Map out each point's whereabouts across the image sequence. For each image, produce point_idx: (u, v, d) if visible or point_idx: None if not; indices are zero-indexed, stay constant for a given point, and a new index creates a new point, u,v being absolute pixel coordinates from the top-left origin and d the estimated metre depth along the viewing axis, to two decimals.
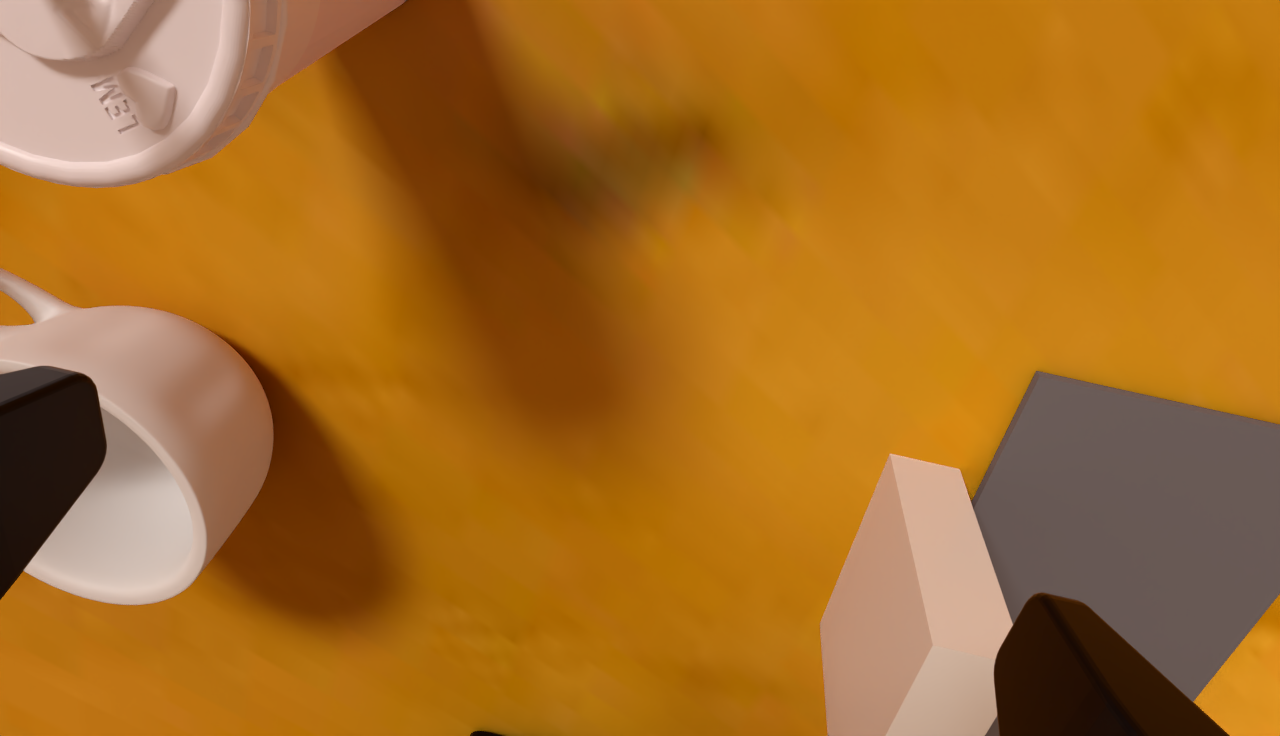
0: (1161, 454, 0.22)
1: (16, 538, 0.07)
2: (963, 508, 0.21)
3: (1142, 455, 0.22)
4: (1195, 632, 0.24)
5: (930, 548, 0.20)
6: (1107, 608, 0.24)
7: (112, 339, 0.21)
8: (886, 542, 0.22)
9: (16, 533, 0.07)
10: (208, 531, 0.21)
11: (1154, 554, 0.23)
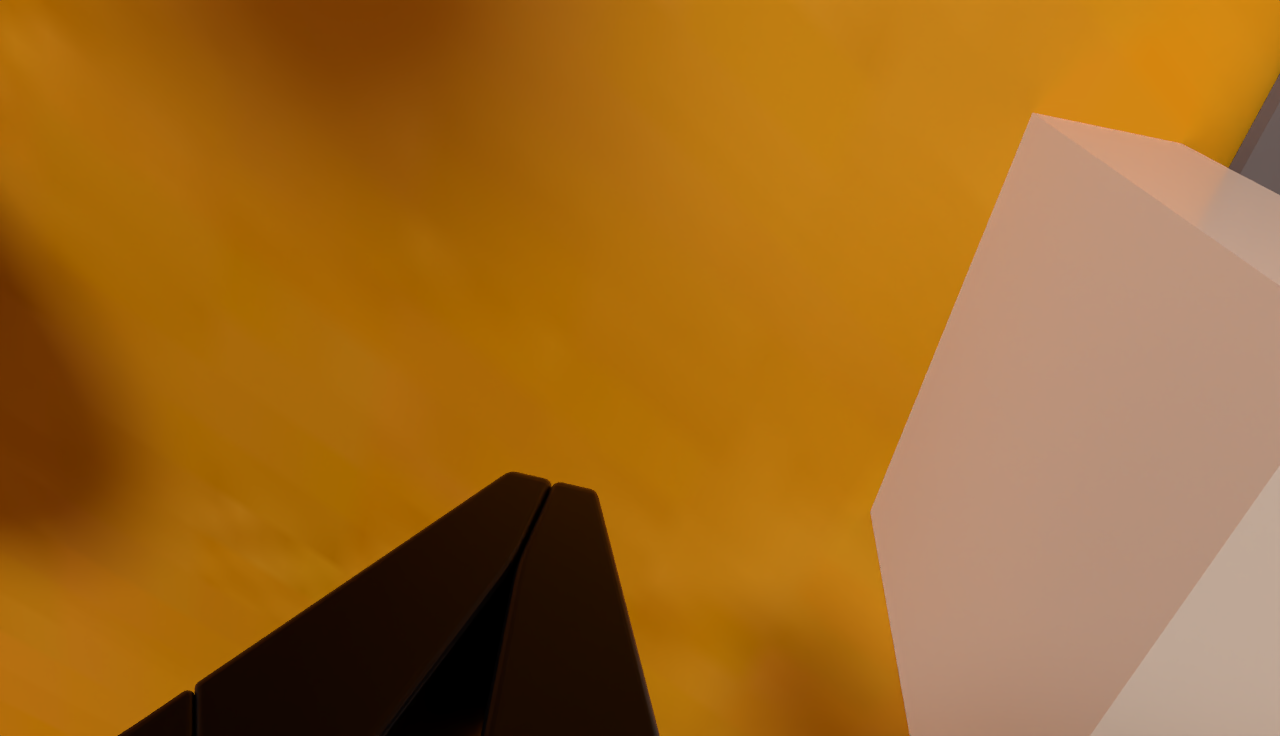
0: None
1: None
2: (1228, 175, 0.09)
3: None
4: None
5: (1201, 204, 0.08)
6: None
7: None
8: (1050, 259, 0.09)
9: None
10: None
11: None
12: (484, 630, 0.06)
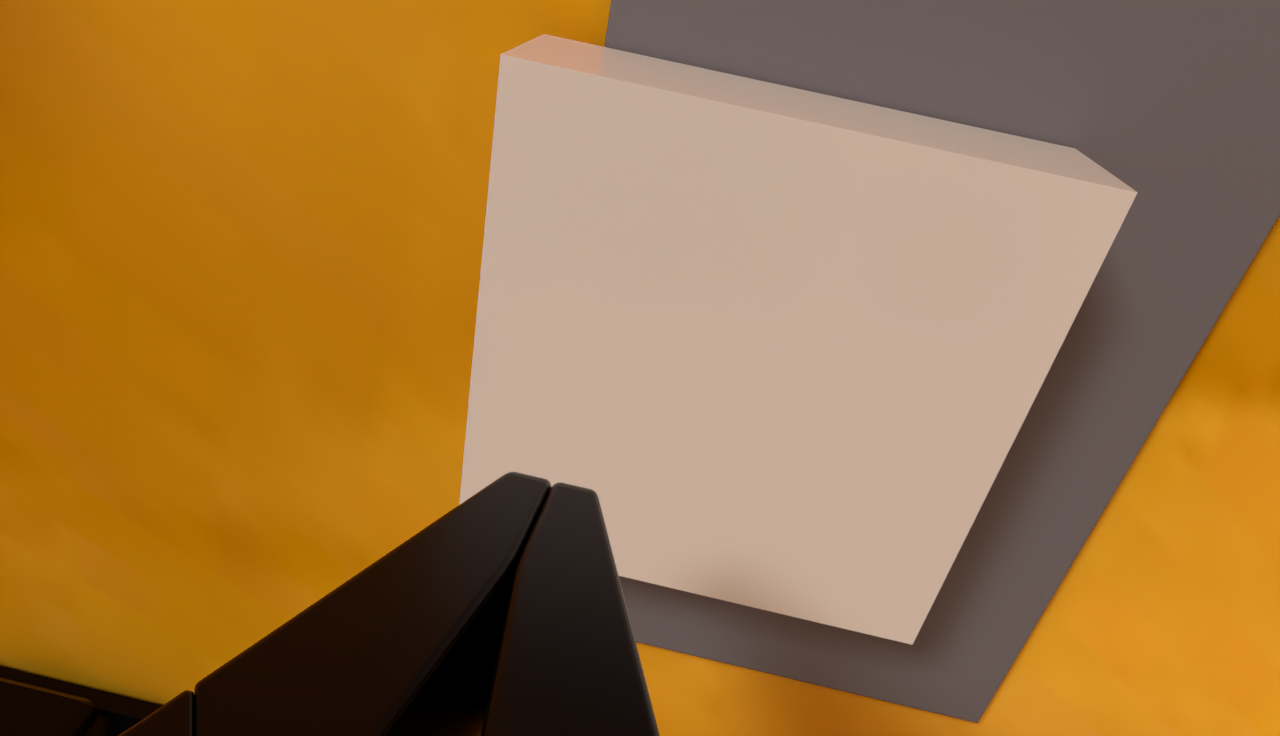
0: None
1: None
2: (682, 67, 0.10)
3: None
4: (1066, 402, 0.12)
5: (839, 118, 0.09)
6: None
7: None
8: (699, 207, 0.09)
9: None
10: None
11: None
12: (484, 630, 0.06)
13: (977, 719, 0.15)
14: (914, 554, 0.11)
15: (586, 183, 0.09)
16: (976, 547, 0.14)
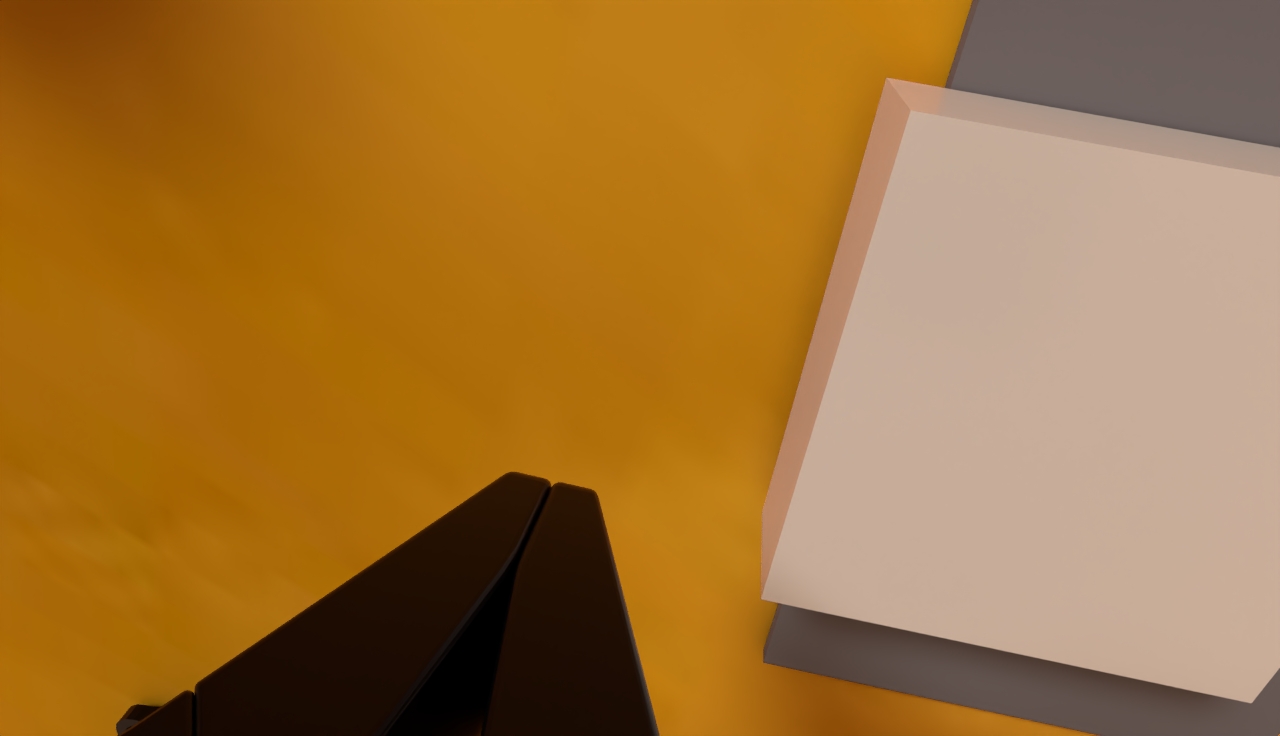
0: None
1: None
2: (1044, 109, 0.10)
3: None
4: None
5: (1262, 165, 0.09)
6: None
7: None
8: (1105, 263, 0.09)
9: None
10: None
11: None
12: (484, 630, 0.06)
13: None
14: (1274, 612, 0.11)
15: (981, 241, 0.09)
16: None
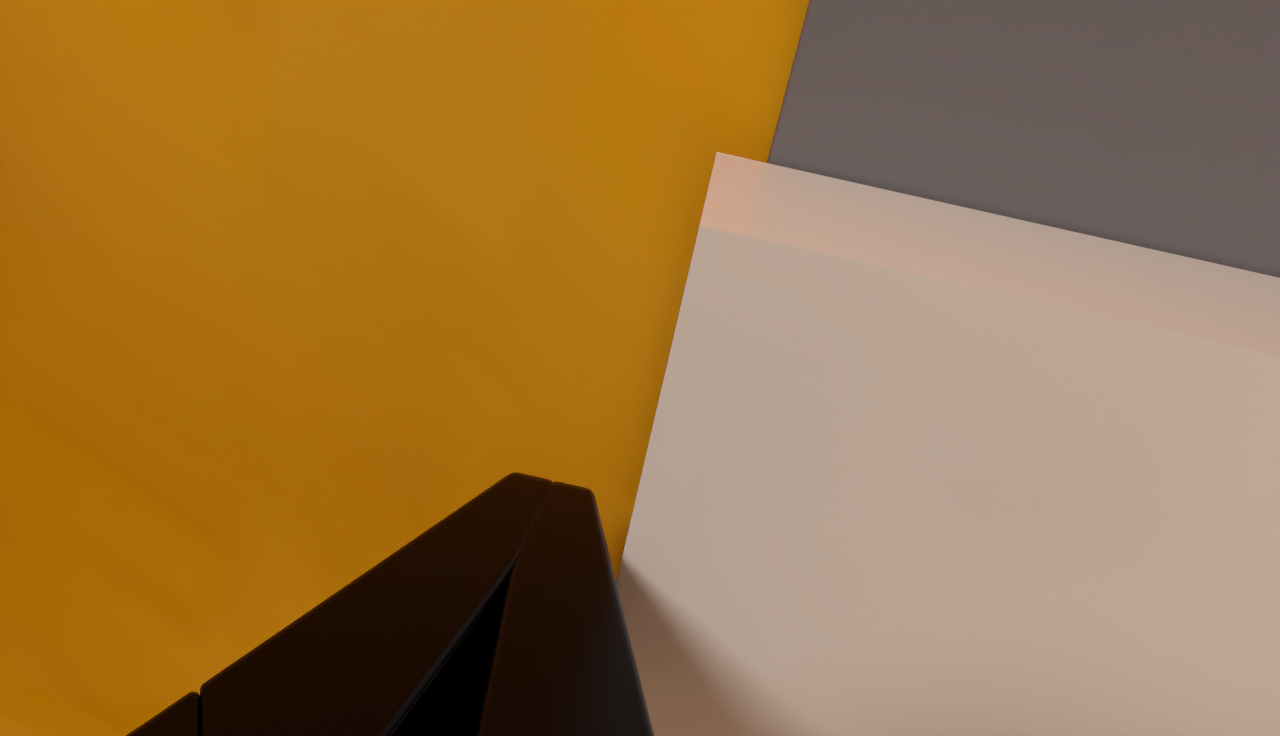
0: None
1: None
2: (937, 209, 0.07)
3: None
4: None
5: (1247, 325, 0.06)
6: None
7: None
8: (1004, 461, 0.06)
9: None
10: None
11: None
12: (488, 631, 0.06)
13: None
14: None
15: (819, 420, 0.06)
16: None
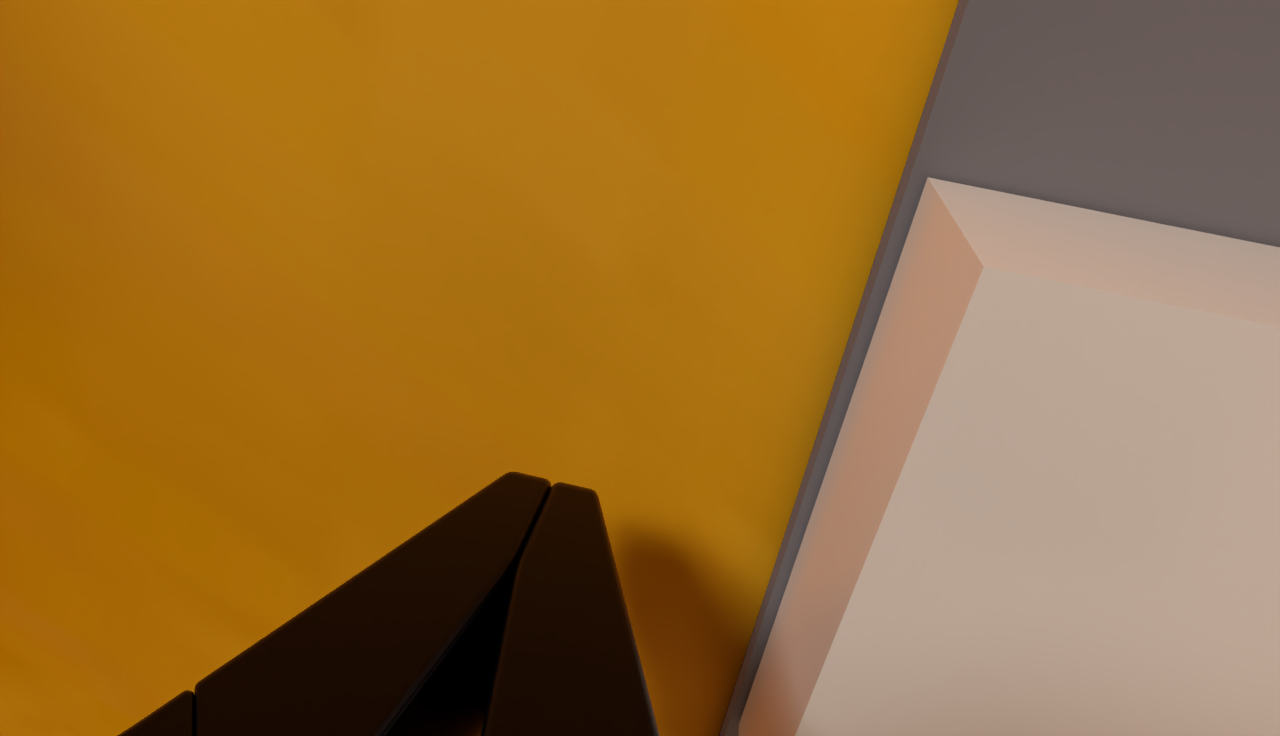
0: None
1: None
2: (1172, 234, 0.06)
3: None
4: None
5: None
6: None
7: None
8: None
9: None
10: None
11: None
12: (484, 630, 0.06)
13: None
14: None
15: (1087, 466, 0.05)
16: None
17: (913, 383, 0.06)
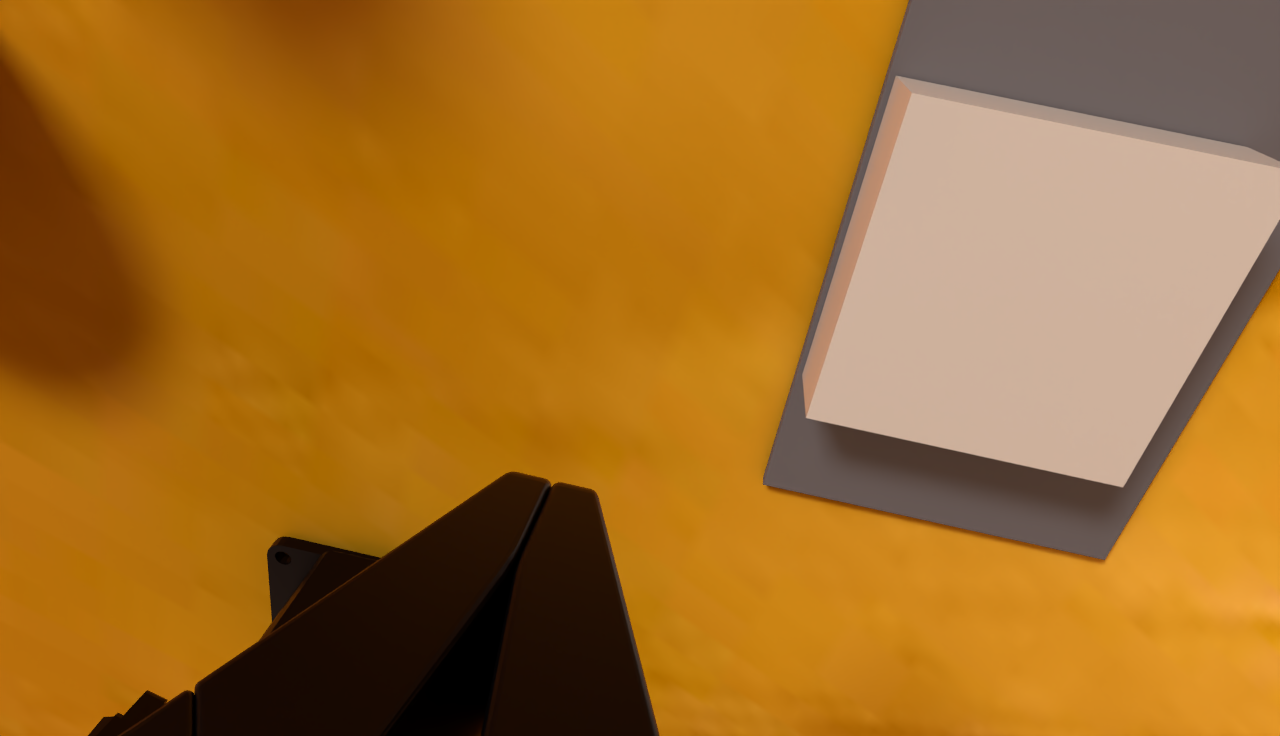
0: None
1: None
2: (992, 96, 0.16)
3: (1104, 2, 0.15)
4: None
5: (1114, 130, 0.15)
6: None
7: None
8: (1023, 186, 0.15)
9: None
10: None
11: None
12: (484, 630, 0.06)
13: (1105, 556, 0.21)
14: (1133, 419, 0.17)
15: (951, 172, 0.15)
16: None
17: (888, 147, 0.15)
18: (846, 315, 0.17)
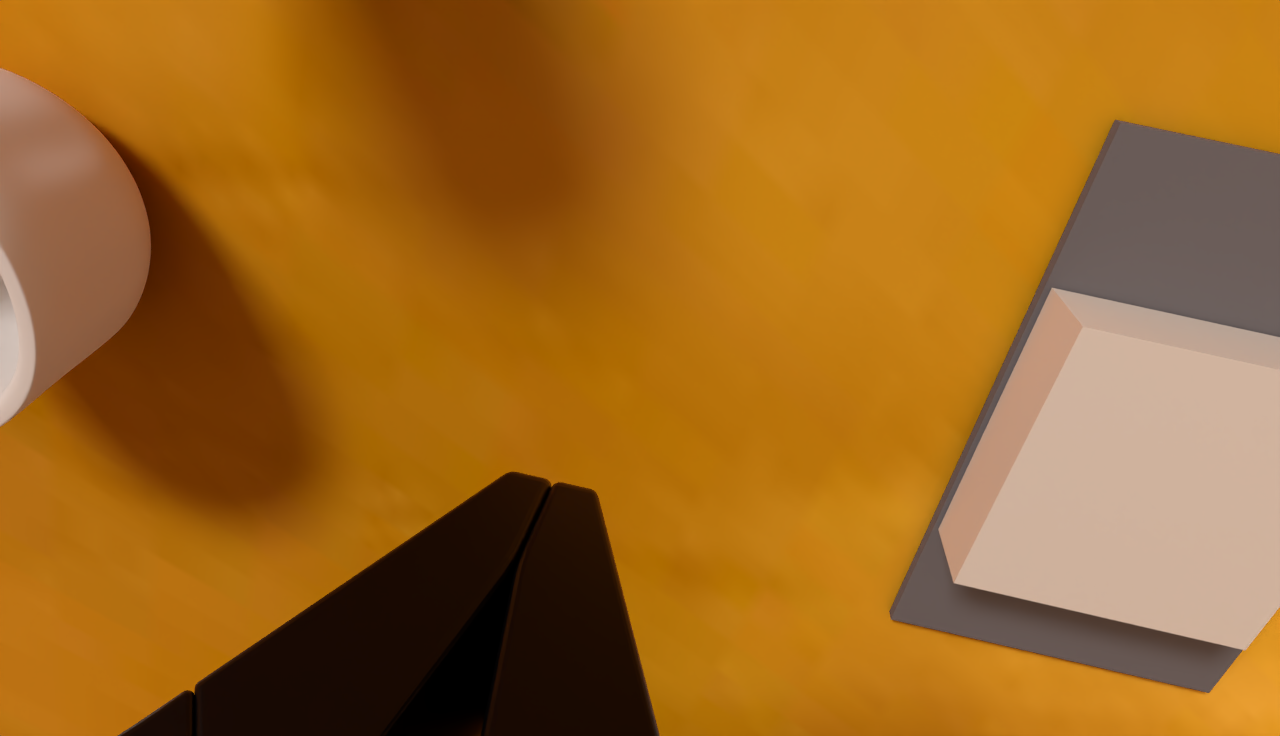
0: (1274, 232, 0.17)
1: None
2: (1142, 311, 0.18)
3: (1250, 235, 0.17)
4: None
5: (1262, 357, 0.16)
6: None
7: None
8: (1177, 404, 0.17)
9: None
10: (36, 324, 0.16)
11: None
12: (484, 630, 0.06)
13: (1209, 690, 0.23)
14: (1260, 595, 0.18)
15: (1112, 390, 0.17)
16: None
17: (1052, 363, 0.17)
18: (1001, 501, 0.18)
